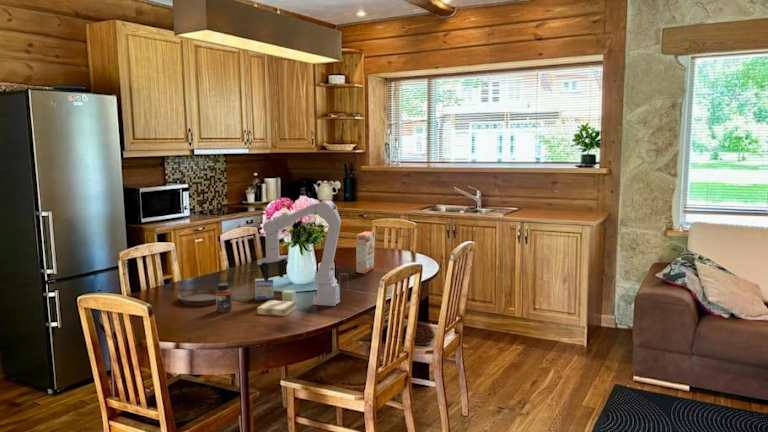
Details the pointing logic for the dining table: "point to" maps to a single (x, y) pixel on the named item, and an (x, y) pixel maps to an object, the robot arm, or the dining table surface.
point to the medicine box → (264, 289)
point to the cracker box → (364, 252)
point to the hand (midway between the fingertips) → (273, 278)
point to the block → (289, 295)
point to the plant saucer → (198, 296)
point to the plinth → (276, 307)
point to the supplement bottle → (223, 298)
